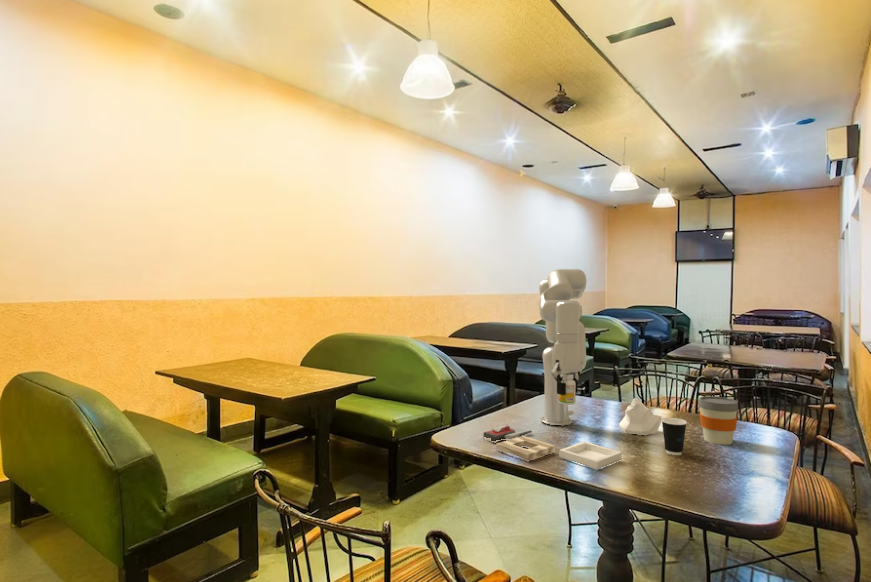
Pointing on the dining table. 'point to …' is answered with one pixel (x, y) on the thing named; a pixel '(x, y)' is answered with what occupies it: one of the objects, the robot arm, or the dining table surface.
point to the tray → (590, 455)
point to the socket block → (515, 448)
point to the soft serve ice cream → (640, 420)
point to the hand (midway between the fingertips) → (567, 392)
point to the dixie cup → (674, 435)
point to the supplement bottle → (568, 391)
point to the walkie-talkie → (503, 433)
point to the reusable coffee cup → (718, 419)
